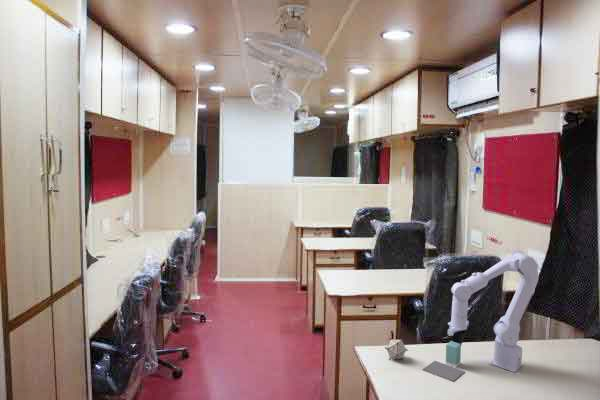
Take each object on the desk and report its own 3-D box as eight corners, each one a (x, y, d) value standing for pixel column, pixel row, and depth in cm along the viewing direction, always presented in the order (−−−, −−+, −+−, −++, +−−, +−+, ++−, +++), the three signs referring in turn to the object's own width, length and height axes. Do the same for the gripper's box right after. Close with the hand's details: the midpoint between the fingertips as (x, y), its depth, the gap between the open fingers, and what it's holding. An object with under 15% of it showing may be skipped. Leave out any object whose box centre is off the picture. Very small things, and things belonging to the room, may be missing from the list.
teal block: (460, 363, 175) (460, 344, 174) (455, 367, 172) (456, 347, 171) (450, 360, 178) (450, 340, 177) (445, 364, 175) (446, 344, 174)
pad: (464, 372, 169) (465, 371, 169) (453, 381, 162) (453, 380, 162) (434, 361, 177) (434, 360, 177) (422, 370, 170) (422, 369, 170)
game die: (397, 365, 181) (411, 344, 182) (400, 368, 172) (414, 345, 174) (378, 352, 182) (392, 330, 184) (380, 353, 174) (394, 331, 176)
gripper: (457, 307, 183) (455, 339, 185) (440, 316, 173) (438, 350, 174) (474, 311, 178) (472, 344, 180) (458, 321, 168) (456, 356, 169)
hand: (457, 347), depth 177 cm, fingers closed
